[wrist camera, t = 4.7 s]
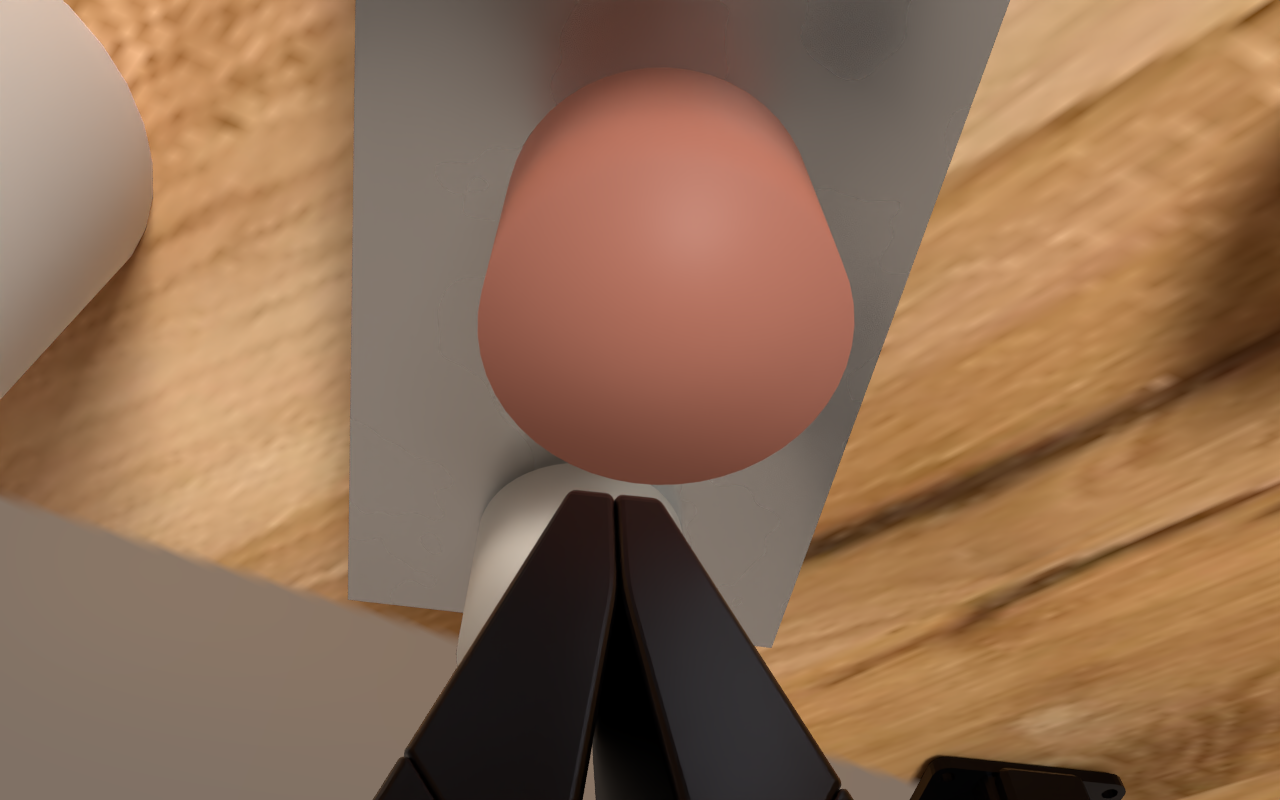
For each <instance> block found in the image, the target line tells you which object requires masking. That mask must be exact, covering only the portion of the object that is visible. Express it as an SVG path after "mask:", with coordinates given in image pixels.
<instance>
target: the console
mask: <svg viewBox="0 0 1280 800" xmlns="http://www.w3.org/2000/svg"><path fill="white" fill-rule="evenodd" d="M1009 2H1010V0H356V12H355V91H354V170H353V248H352V327H351V405H350V484H349V562H348V600H356V601H365V602H374V603H382V604H391V605H400V606H409V607H418V608H426V609H435V610H444V611H453V612H461V613H463V612H464V606H465V601H466V596H467V590H468V585H469V579H470V574H471V568H472V563H473V557H474V552H475V546H476V541H477V536H478V530H479V525H480V520H481V518H482V515H483V513H484V510H485V509H486V507H487V506H488V504H489V502H490V501H491V500H492V498H493V497H494V496H495V495H496V494H497V493H498V492H499V491H500V490H501V489H502V488H503V487H505V486H506V485H507V484H509V483H510V482H512V481H513V480H515V479H516V478H518V477H520V476H522V475H524V474H526V473H528V472H531V471H534V470H536V469H539V468H543V467H547V466H551V465H557V464H565V463H567V462H565V461H564V460H562V459H560V458H558V457H556V456H555V455H553V454H551V453H550V452H549V451H547V450H546V449H544V448H543V447H542V446H540V445H539V444H537V443H536V442H535V441H534V440H533V439H531V438H530V437H529V436H528V435H527V434H526V433H525V432H524V431H523V430H522V429H521V428H520V427H519V426H518V425H517V424H516V423H515V422H514V420H513V419H512V418H511V417H510V416H509V414H508V413H507V412H506V411H505V409H504V408H503V406H502V404H501V403H500V401H499V400H498V398H497V397H496V395H495V393H494V391H493V389H492V387H491V384H490V382H489V380H488V378H487V376H486V373H485V369H484V366H483V362H482V359H481V355H480V348H479V341H478V309H479V304H480V298H481V292H482V288H483V284H484V280H485V276H486V272H487V268H488V264H489V260H490V256H491V252H492V248H493V244H494V240H495V237H496V233H497V229H498V225H499V221H500V217H501V213H502V209H503V205H504V201H505V197H506V193H507V189H508V185H509V181H510V178H511V175H512V172H513V169H514V165H515V162H516V160H517V158H518V156H519V154H520V152H521V150H522V148H523V146H524V144H525V142H526V140H527V139H528V137H529V136H530V135H531V133H532V132H533V130H534V129H535V127H536V126H537V125H538V124H539V123H540V121H541V120H542V119H543V118H544V117H545V116H546V115H547V114H548V113H549V112H550V111H551V110H552V109H553V108H554V107H555V106H557V105H558V104H559V103H560V102H561V101H563V100H564V99H565V98H566V97H568V96H570V95H571V94H573V93H574V92H576V91H578V90H579V89H581V88H582V87H584V86H586V85H588V84H591V83H593V82H595V81H597V80H599V79H602V78H604V77H607V76H611V75H614V74H617V73H621V72H624V71H630V70H636V69H642V68H662V67H669V68H678V69H688V70H693V71H697V72H701V73H705V74H709V75H712V76H715V77H717V78H720V79H722V80H725V81H727V82H730V83H732V84H733V85H735V86H737V87H739V88H741V89H742V90H744V91H746V92H748V93H749V94H751V95H752V96H753V97H754V98H756V99H757V100H758V101H760V102H761V103H762V104H764V105H765V106H766V107H767V108H768V109H769V110H770V111H771V112H772V113H773V114H774V115H775V116H776V117H777V118H778V119H779V120H780V122H781V123H782V124H783V126H784V127H785V129H786V130H787V131H788V133H789V134H790V135H791V137H792V139H793V141H794V143H795V144H796V146H797V148H798V150H799V152H800V154H801V157H802V159H803V162H804V164H805V167H806V170H807V172H808V175H809V177H810V180H811V182H812V185H813V188H814V190H815V193H816V195H817V198H818V201H819V203H820V206H821V208H822V211H823V213H824V216H825V219H826V221H827V224H828V226H829V229H830V232H831V234H832V237H833V239H834V242H835V244H836V247H837V250H838V252H839V255H840V257H841V260H842V263H843V265H844V268H845V271H846V274H847V277H848V279H849V282H850V287H851V292H852V298H853V303H854V333H853V342H852V348H851V351H850V355H849V359H848V363H847V366H846V369H845V371H844V373H843V376H842V378H841V380H840V383H839V385H838V387H837V389H836V390H835V392H834V394H833V395H832V397H831V398H830V400H829V402H828V403H827V405H826V406H825V407H824V409H823V410H822V411H821V412H820V414H819V415H818V416H817V417H816V419H815V420H814V421H813V422H812V423H811V424H810V425H809V426H808V427H807V428H806V429H805V430H804V431H803V432H802V433H801V434H800V435H799V436H798V437H796V438H795V439H794V440H792V441H791V442H790V443H788V444H787V445H786V446H785V447H783V448H782V449H781V450H779V451H777V452H776V453H774V454H772V455H771V456H769V457H767V458H766V459H764V460H762V461H760V462H758V463H756V464H754V465H751V466H749V467H747V468H745V469H743V470H740V471H737V472H734V473H731V474H728V475H725V476H722V477H718V478H714V479H710V480H705V481H701V482H694V483H686V484H675V485H651V486H653V487H654V488H656V489H657V490H658V491H659V492H660V493H661V494H662V495H663V496H664V497H665V498H666V499H667V500H668V502H669V503H670V504H671V506H672V507H673V509H674V511H675V512H676V514H677V516H678V519H679V522H680V524H681V529H682V534H683V536H684V537H685V539H686V541H687V542H688V544H689V545H690V547H691V548H692V550H693V551H694V553H695V555H696V556H697V558H698V559H699V561H700V562H701V564H702V565H703V567H704V569H705V570H706V572H707V573H708V575H709V576H710V578H711V579H712V581H713V583H714V584H715V586H716V587H717V589H718V590H719V592H720V593H721V595H722V597H723V598H724V600H725V601H726V603H727V604H728V606H729V607H730V609H731V611H732V612H733V614H734V615H735V617H736V618H737V620H738V621H739V623H740V625H741V626H742V628H743V629H744V631H745V632H746V634H747V635H748V637H749V639H750V640H751V642H752V643H753V645H754V646H760V647H768V648H772V645H773V642H774V639H775V637H776V634H777V631H778V629H779V626H780V623H781V620H782V618H783V615H784V612H785V610H786V607H787V604H788V601H789V599H790V596H791V593H792V591H793V588H794V585H795V582H796V580H797V577H798V574H799V572H800V569H801V566H802V563H803V561H804V558H805V555H806V553H807V550H808V547H809V544H810V542H811V539H812V536H813V534H814V531H815V528H816V525H817V523H818V520H819V517H820V515H821V512H822V509H823V506H824V504H825V501H826V498H827V496H828V493H829V490H830V487H831V485H832V482H833V479H834V477H835V474H836V471H837V468H838V466H839V463H840V460H841V458H842V455H843V452H844V449H845V447H846V444H847V441H848V439H849V436H850V433H851V430H852V428H853V425H854V422H855V420H856V417H857V414H858V411H859V409H860V406H861V403H862V401H863V398H864V395H865V392H866V390H867V387H868V384H869V382H870V379H871V376H872V373H873V371H874V368H875V365H876V363H877V360H878V357H879V354H880V352H881V349H882V346H883V344H884V341H885V338H886V335H887V333H888V330H889V327H890V325H891V322H892V319H893V316H894V314H895V311H896V308H897V306H898V303H899V300H900V297H901V295H902V292H903V289H904V287H905V284H906V281H907V278H908V276H909V273H910V270H911V268H912V265H913V262H914V259H915V257H916V254H917V251H918V249H919V246H920V243H921V240H922V238H923V235H924V232H925V230H926V227H927V224H928V221H929V219H930V216H931V213H932V211H933V208H934V205H935V202H936V200H937V197H938V194H939V192H940V189H941V186H942V183H943V181H944V178H945V175H946V173H947V170H948V167H949V164H950V162H951V159H952V156H953V154H954V151H955V148H956V145H957V143H958V140H959V137H960V135H961V132H962V129H963V126H964V124H965V121H966V118H967V116H968V113H969V110H970V107H971V105H972V102H973V99H974V97H975V94H976V91H977V88H978V86H979V83H980V80H981V78H982V75H983V72H984V69H985V67H986V64H987V61H988V59H989V56H990V53H991V50H992V48H993V45H994V42H995V40H996V37H997V34H998V31H999V29H1000V26H1001V23H1002V21H1003V18H1004V15H1005V12H1006V10H1007V7H1008V4H1009Z"/></svg>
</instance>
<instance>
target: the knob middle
mask: <svg viewBox="0 0 1280 800" xmlns="http://www.w3.org/2000/svg"><path fill="white" fill-rule="evenodd" d="M853 333H854V303H853V298H852V292H851V287H850V282H849V279H848V277H847V274H846V271H845V268H844V265H843V263H842V260H841V257H840V255H839V252H838V250H837V247H836V244H835V242H834V239H833V237H832V234H831V232H830V229H829V226H828V224H827V221H826V219H825V216H824V213H823V211H822V208H821V206H820V203H819V201H818V198H817V195H816V193H815V190H814V188H813V185H812V182H811V180H810V177H809V175H808V172H807V170H806V167H805V164H804V162H803V159H802V157H801V154H800V152H799V150H798V148H797V146H796V144H795V143H794V141H793V139H792V137H791V135H790V134H789V133H788V131H787V130H786V129H785V127H784V126H783V124H782V123H781V122H780V120H779V119H778V118H777V117H776V116H775V115H774V114H773V113H772V112H771V111H770V110H769V109H768V108H767V107H766V106H765V105H764V104H762V103H761V102H760V101H758V100H757V99H756V98H754V97H753V96H752V95H751V94H749V93H748V92H746V91H744V90H742V89H741V88H739V87H737V86H735V85H733V84H732V83H730V82H727V81H725V80H722V79H720V78H717V77H715V76H712V75H709V74H705V73H701V72H697V71H693V70H688V69H678V68H669V67H662V68H642V69H636V70H630V71H624V72H621V73H617V74H614V75H611V76H607V77H604V78H602V79H599V80H597V81H595V82H593V83H591V84H588V85H586V86H584V87H582V88H581V89H579V90H578V91H576V92H574V93H573V94H571V95H570V96H568V97H566V98H565V99H564V100H563V101H561V102H560V103H559V104H558V105H557V106H555V107H554V108H553V109H552V110H551V111H550V112H549V113H548V114H547V115H546V116H545V117H544V118H543V119H542V120H541V121H540V123H539V124H538V125H537V126H536V127H535V129H534V130H533V132H532V133H531V135H530V136H529V137H528V139H527V140H526V142H525V144H524V146H523V148H522V150H521V152H520V154H519V156H518V158H517V160H516V162H515V165H514V169H513V172H512V175H511V178H510V181H509V185H508V189H507V193H506V197H505V201H504V205H503V209H502V213H501V217H500V221H499V225H498V229H497V233H496V237H495V240H494V244H493V248H492V252H491V256H490V260H489V264H488V268H487V272H486V276H485V280H484V284H483V288H482V292H481V298H480V304H479V309H478V341H479V348H480V355H481V359H482V362H483V366H484V369H485V373H486V376H487V378H488V380H489V382H490V384H491V387H492V389H493V391H494V393H495V395H496V397H497V398H498V400H499V401H500V403H501V404H502V406H503V408H504V409H505V411H506V412H507V413H508V414H509V416H510V417H511V418H512V419H513V420H514V422H515V423H516V424H517V425H518V426H519V427H520V428H521V429H522V430H523V431H524V432H525V433H526V434H527V435H528V436H529V437H530V438H531V439H533V440H534V441H535V442H536V443H537V444H539V445H540V446H542V447H543V448H544V449H546V450H547V451H549V452H550V453H551V454H553V455H555V456H556V457H558V458H560V459H562V460H564V461H565V462H567V463H569V464H571V465H573V466H576V467H578V468H580V469H583V470H585V471H588V472H590V473H593V474H596V475H600V476H603V477H606V478H610V479H614V480H619V481H625V482H630V483H638V484H650V485H675V484H686V483H694V482H701V481H705V480H710V479H714V478H718V477H722V476H725V475H728V474H731V473H734V472H737V471H740V470H743V469H745V468H747V467H749V466H751V465H754V464H756V463H758V462H760V461H762V460H764V459H766V458H767V457H769V456H771V455H772V454H774V453H776V452H777V451H779V450H781V449H782V448H783V447H785V446H786V445H787V444H788V443H790V442H791V441H792V440H794V439H795V438H796V437H798V436H799V435H800V434H801V433H802V432H803V431H804V430H805V429H806V428H807V427H808V426H809V425H810V424H811V423H812V422H813V421H814V420H815V419H816V417H817V416H818V415H819V414H820V412H821V411H822V410H823V409H824V407H825V406H826V405H827V403H828V402H829V400H830V398H831V397H832V395H833V394H834V392H835V390H836V389H837V387H838V385H839V383H840V380H841V378H842V376H843V373H844V371H845V369H846V366H847V363H848V359H849V355H850V351H851V348H852V342H853Z"/></svg>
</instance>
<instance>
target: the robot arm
mask: <svg viewBox="0 0 1280 800" xmlns="http://www.w3.org/2000/svg"><path fill="white" fill-rule="evenodd" d="M592 744H593V765H594V780H595V795H596V800H853V798H852V797H851V795H850V794H849V792H848V791H847V790H846V789H840V787H841V781H840V779H839V777H838V776H837V774H836V773H835V771H834V769H833V768H832V766H831V765H830V763H829V762H828V760H827V758H826V757H825V755H824V754H823V752H822V751H821V749H820V748H819V746H818V744H817V743H816V741H815V740H814V738H813V737H812V735H811V734H810V732H809V730H808V729H807V727H806V726H805V724H804V723H803V721H802V720H801V718H800V716H799V715H798V713H797V712H796V710H795V709H794V707H793V705H792V704H791V702H790V701H789V699H788V698H787V696H786V695H785V693H784V691H783V690H782V688H781V687H780V685H779V684H778V682H777V681H776V679H775V677H774V676H773V674H772V673H771V671H770V670H769V668H768V667H767V665H766V663H765V662H764V660H763V659H762V657H761V656H760V654H759V653H758V651H757V649H756V648H755V646H754V645H753V643H752V642H751V640H750V639H749V637H748V635H747V634H746V632H745V631H744V629H743V628H742V626H741V625H740V623H739V621H738V620H737V618H736V617H735V615H734V614H733V612H732V611H731V609H730V607H729V606H728V604H727V603H726V601H725V600H724V598H723V597H722V595H721V593H720V592H719V590H718V589H717V587H716V586H715V584H714V583H713V581H712V579H711V578H710V576H709V575H708V573H707V572H706V570H705V569H704V567H703V565H702V564H701V562H700V561H699V559H698V558H697V556H696V555H695V553H694V551H693V550H692V548H691V547H690V545H689V544H688V542H687V541H686V539H685V537H684V536H683V534H682V533H681V531H680V530H679V528H678V527H677V525H676V523H675V522H674V520H673V519H672V517H671V516H670V514H669V513H668V511H667V509H666V508H665V506H664V505H663V503H662V502H661V501H659V500H658V499H656V498H651V497H641V496H632V495H619V496H617V498H616V499H615V500H614V499H613V497H612V496H611V495H610V494H608V493H603V492H593V491H583V490H572V491H570V492H569V493H568V494H567V495H566V496H565V498H564V499H563V501H562V502H561V504H560V506H559V507H558V509H557V510H556V512H555V514H554V515H553V517H552V518H551V520H550V521H549V523H548V525H547V526H546V528H545V529H544V531H543V533H542V534H541V536H540V537H539V539H538V540H537V542H536V544H535V545H534V547H533V548H532V550H531V551H530V553H529V555H528V556H527V558H526V559H525V561H524V563H523V564H522V566H521V567H520V569H519V570H518V572H517V574H516V575H515V577H514V578H513V580H512V582H511V583H510V585H509V586H508V588H507V589H506V591H505V593H504V594H503V596H502V597H501V599H500V601H499V602H498V604H497V605H496V607H495V608H494V610H493V612H492V613H491V615H490V616H489V618H488V619H487V621H486V623H485V624H484V626H483V627H482V629H481V631H480V632H479V634H478V635H477V637H476V638H475V640H474V642H473V643H472V645H471V646H470V648H469V650H468V651H467V653H466V654H465V656H464V657H463V659H462V661H461V662H460V664H459V665H458V667H457V669H456V670H455V672H454V673H453V675H452V676H451V678H450V680H449V681H448V683H447V684H446V686H445V687H444V689H443V691H442V692H441V694H440V695H439V697H438V699H437V700H436V702H435V703H434V705H433V707H432V708H431V710H430V711H429V713H428V714H427V716H426V718H425V719H424V721H423V722H422V724H421V726H420V727H419V729H418V730H417V732H416V733H415V735H414V737H413V738H412V740H411V741H410V743H409V744H408V746H407V748H406V750H405V753H404V757H401V758H399V760H398V761H397V762H396V764H395V766H394V767H393V769H392V770H391V772H390V773H389V775H388V777H387V778H386V780H385V781H384V783H383V785H382V786H381V788H380V789H379V791H378V792H377V794H376V796H375V797H374V798H373V800H583V794H584V788H585V782H586V777H587V771H588V766H589V760H590V754H591V748H592ZM839 789H840V790H839ZM1125 792H1126V791H1125V788H1124V786H1123V783H1122V781H1121V779H1120V777H1118V776H1117V775H1115V774H1109V773H1100V772H1090V771H1080V770H1071V769H1061V768H1052V767H1042V766H1032V765H1023V764H1013V763H1004V762H994V761H984V760H975V759H965V758H956V757H941V758H937V759H936V760H934V761H932V762H931V763H930V764H929V766H928V768H927V770H926V771H925V773H924V775H923V777H922V779H921V780H920V782H919V784H918V786H917V788H916V789H915V791H914V793H913V795H912V797H911V798H910V800H1121V799H1122V798H1123V796H1124V795H1125Z"/></svg>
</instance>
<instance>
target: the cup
mask: <svg viewBox="0 0 1280 800" xmlns="http://www.w3.org/2000/svg"><path fill="white" fill-rule="evenodd" d="M152 199H153V162H152V157H151V153H150V148H149V144H148V139H147V135H146V130H145V126H144V122H143V120H142V118H141V115H140V113H139V111H138V108H137V106H136V104H135V101H134V99H133V96H132V94H131V92H130V89H129V87H128V85H127V83H126V81H125V80H124V78H123V76H122V75H121V73H120V72H119V70H118V69H117V67H116V65H115V64H114V62H113V61H112V59H111V58H110V56H109V54H108V53H107V51H106V50H105V48H104V46H103V45H102V43H101V42H100V41H99V40H98V39H97V38H96V37H95V35H94V34H93V33H92V32H91V31H90V30H89V28H88V27H87V26H86V25H85V24H84V23H83V22H82V20H81V19H80V18H79V17H78V16H77V15H76V13H75V12H74V11H73V10H72V9H71V8H70V6H69V5H67V4H66V3H65V2H64V1H63V0H0V399H1V398H2V397H3V396H4V395H5V394H6V393H7V392H8V391H9V390H10V389H11V387H12V386H13V385H14V384H15V383H16V382H17V381H18V380H19V379H20V378H21V377H22V375H23V374H24V373H25V372H26V371H27V370H28V369H29V368H30V367H31V366H32V364H33V363H34V362H35V361H36V360H37V359H38V358H39V357H40V356H41V355H42V354H43V352H44V351H45V350H46V349H47V348H48V347H49V346H50V345H51V344H52V343H53V341H54V340H55V339H56V338H57V337H58V336H59V335H60V334H61V333H62V332H63V331H64V329H65V328H66V327H67V326H68V325H69V324H70V323H71V322H72V321H73V320H74V318H75V317H76V316H77V315H78V314H79V313H80V312H81V311H82V310H83V309H84V308H85V306H86V305H87V304H88V303H89V302H90V301H91V300H92V299H93V298H94V297H95V295H96V294H97V293H98V292H99V291H100V290H101V289H102V288H103V287H104V286H105V285H106V283H107V282H108V281H109V280H110V279H111V278H112V277H113V276H114V275H115V274H116V272H117V271H118V270H119V269H120V268H121V267H122V266H123V265H124V264H125V263H126V262H127V260H128V259H129V258H130V257H131V256H132V254H133V252H134V250H135V248H136V246H137V244H138V243H139V241H140V239H141V237H142V235H143V233H144V231H145V229H146V225H147V221H148V217H149V212H150V208H151V204H152Z"/></svg>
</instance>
